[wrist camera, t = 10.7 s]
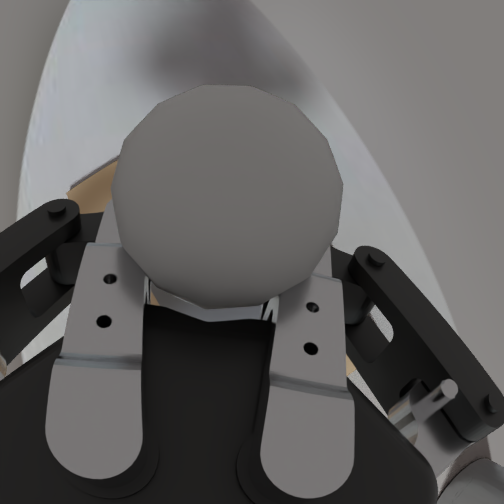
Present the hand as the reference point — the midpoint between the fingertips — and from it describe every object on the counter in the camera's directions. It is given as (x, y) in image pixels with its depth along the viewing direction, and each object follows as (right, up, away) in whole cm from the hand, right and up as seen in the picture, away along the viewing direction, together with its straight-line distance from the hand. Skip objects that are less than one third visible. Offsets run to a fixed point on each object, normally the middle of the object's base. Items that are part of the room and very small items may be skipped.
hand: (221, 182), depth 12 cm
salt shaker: (-1, -3, +6) cm, 6 cm away
